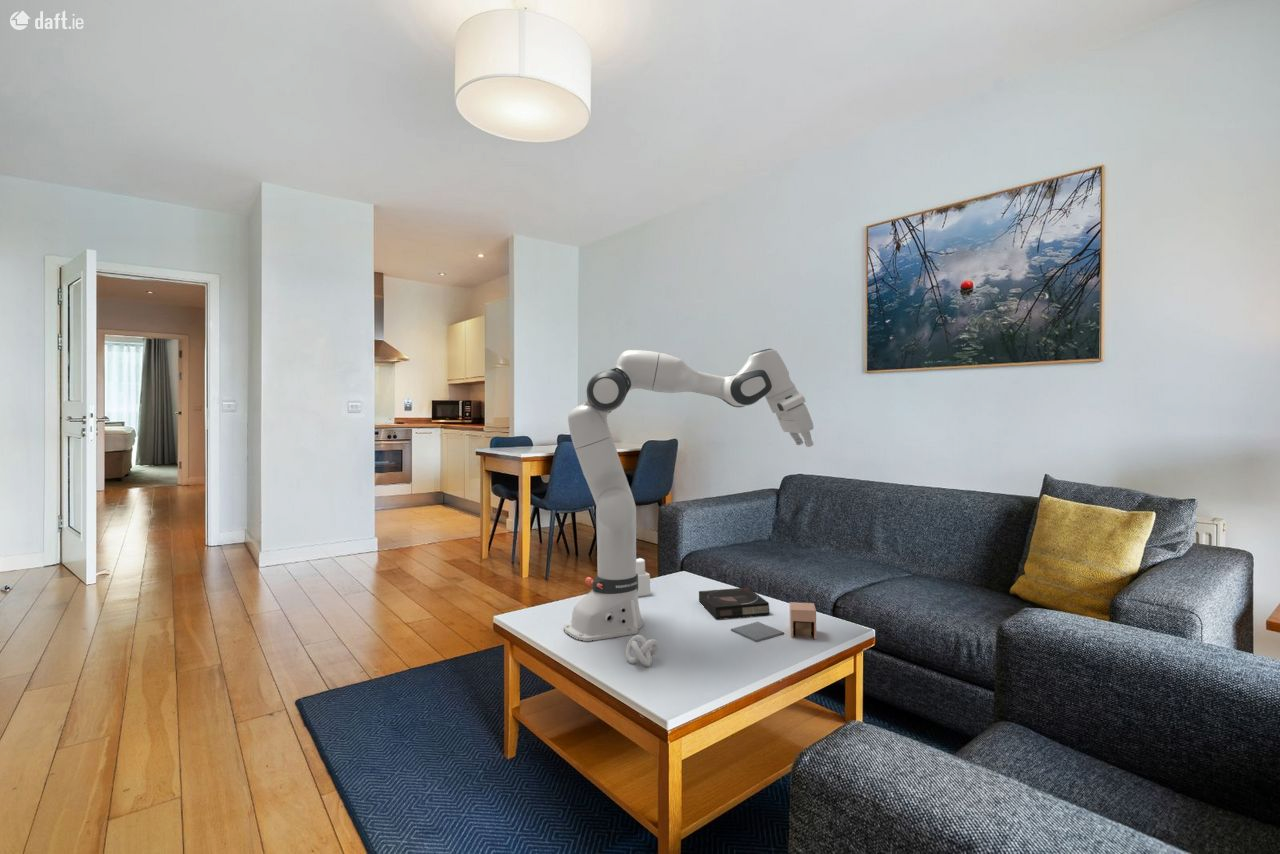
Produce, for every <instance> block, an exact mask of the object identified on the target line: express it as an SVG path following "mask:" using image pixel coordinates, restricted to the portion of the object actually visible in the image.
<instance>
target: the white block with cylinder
mask: <svg viewBox="0 0 1280 854" xmlns="http://www.w3.org/2000/svg"><path fill="white" fill-rule="evenodd" d="M636 573H637V574H638V592H637V595H638V598H640V597H647V596H648V597H649V596H651V574H650V573H648V572H647V571H646V560H645V558H643V557H641V556H636Z"/></svg>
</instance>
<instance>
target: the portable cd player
mask: <svg viewBox="0 0 1280 854" xmlns="http://www.w3.org/2000/svg"><path fill="white" fill-rule="evenodd" d="M699 602H700V603H701V604H702V605H703V606H704V607H703V606H702V605H701V604H700V603H699ZM698 603H699V604H700V605H701V606H702V607H703V609H705V610H706V611H707V612H708V613H709V614H710V616H712V618H714V620H716V619H718V620H725V619H724V618H729V619H738V618H739V617H741V618H750V616H753V617H763V616H770V605H769V604H770V603H769V602H768V601H766V599H764V598H763V597H762V596H761V595H759V594H757V593H756V592H755V591H753V590H752V589H751V588H749V587H739V588H736V587H735V588H727V589H726V588H725V589H723V588H721V589H712V590H699V591H698Z"/></svg>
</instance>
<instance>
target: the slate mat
mask: <svg viewBox="0 0 1280 854" xmlns="http://www.w3.org/2000/svg"><path fill="white" fill-rule="evenodd" d="M730 631H731V632H733V633H735V634H737V635H740V636H743V638H747V639H749V640H751V641H753V642H756V643H757V642H761V641H765V640H768V639H771V638H774V637H778V636H781V635H784V634H785V632H784V631H783V630H780V629H777V628H775V627H773V626H769V625H768V624H764V623H762V622H760V621H756V622H751V623H748V624H744V625H740V626H737V627H733V628H730Z"/></svg>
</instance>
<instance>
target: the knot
mask: <svg viewBox="0 0 1280 854" xmlns="http://www.w3.org/2000/svg"><path fill="white" fill-rule="evenodd" d="M638 642H639V643H640V644H641V647H640V646H639V645H638V644H639V643H638ZM658 649H659V642H658V641H657V640H656V639H654V638H650V639H648V640H647V639H646V637H644V636H643V635H642V634H634V635H633V636H632V637H631V638H630V639H629V640H628V642H627V645H626V647H625V659H626V661H627V662H628V663H629V664H631V665H635V664H637V663H639V662H640V663H641V664H642V665H643V666H645V667H647V668H648V667H650V666H651V665H652V663H653V661H652V660H653V659H652V657H653V656H654V655H656V652H657V651H658ZM632 651H633V652H634V656H632Z"/></svg>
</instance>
